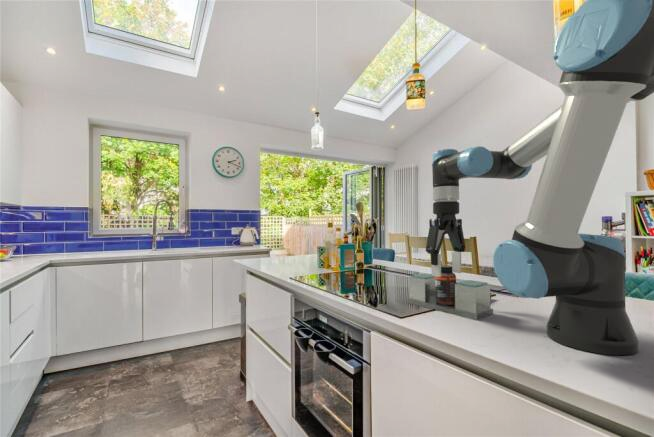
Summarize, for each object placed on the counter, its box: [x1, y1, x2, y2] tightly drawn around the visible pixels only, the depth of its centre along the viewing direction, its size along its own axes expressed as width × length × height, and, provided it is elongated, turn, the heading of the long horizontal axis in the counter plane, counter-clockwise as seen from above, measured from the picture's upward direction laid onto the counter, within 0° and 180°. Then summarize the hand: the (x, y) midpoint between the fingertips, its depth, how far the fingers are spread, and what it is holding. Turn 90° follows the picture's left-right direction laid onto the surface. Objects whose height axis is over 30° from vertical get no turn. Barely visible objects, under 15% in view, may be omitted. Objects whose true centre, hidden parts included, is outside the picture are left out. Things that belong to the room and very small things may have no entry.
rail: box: [406, 273, 494, 321], centre depth 95 cm, size 23×9×9 cm, turn 37°
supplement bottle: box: [435, 264, 457, 305], centre depth 95 cm, size 6×6×11 cm
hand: (446, 274), depth 95 cm, fingers open, 10 cm apart
